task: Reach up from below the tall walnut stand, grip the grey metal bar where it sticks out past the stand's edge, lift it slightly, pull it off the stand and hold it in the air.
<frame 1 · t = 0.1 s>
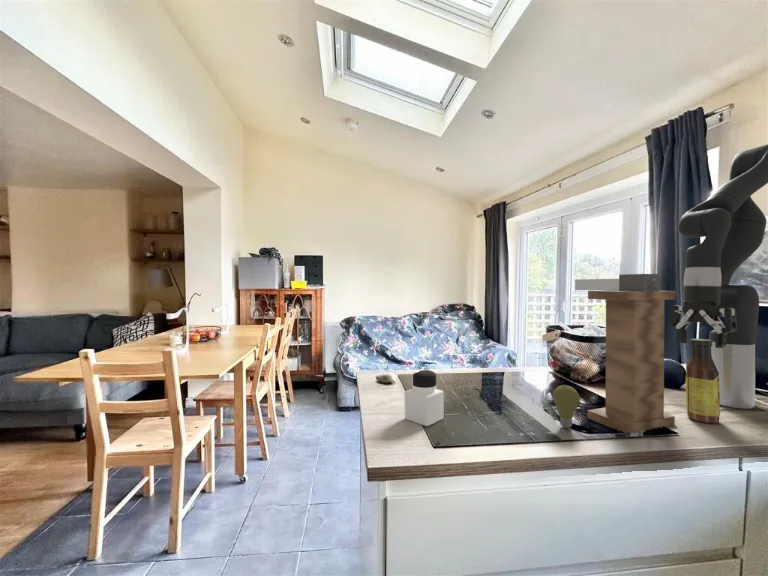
hand: (700, 345, 96), 17 cm above the worktop, tool pointing down, fingers open, 8 cm apart
medicine bottle: (424, 419, 90), on the worktop
sauce bottle: (702, 420, 89), on the worktop
light bulb: (565, 428, 84), on the worktop
stand: (629, 421, 88), on the worktop
grey metal bar: (611, 290, 92), point 32 cm above the worktop, touching stand
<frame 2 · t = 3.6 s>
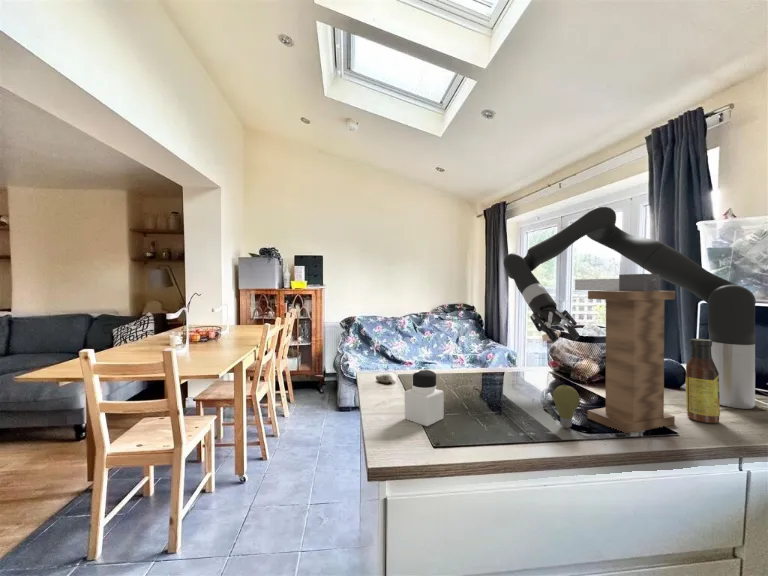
hand: (566, 339, 110), 17 cm above the worktop, tool tilted 45°, fingers open, 8 cm apart
nothing on the worktop moved.
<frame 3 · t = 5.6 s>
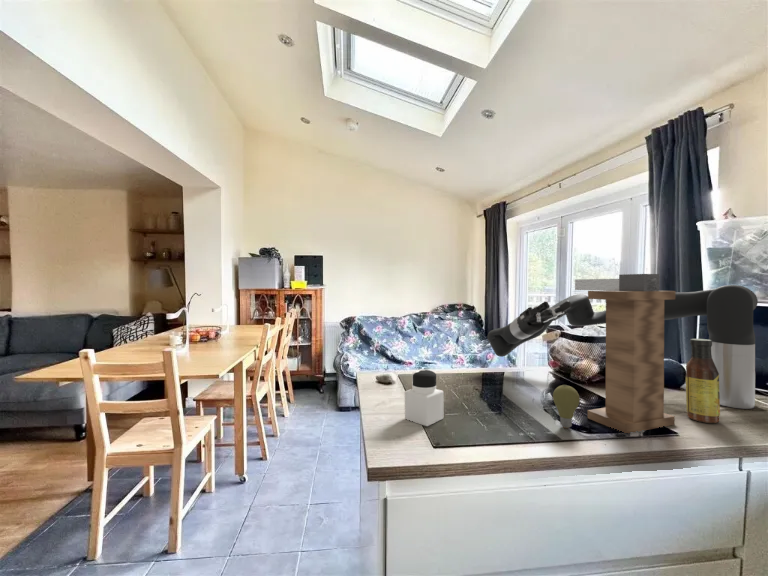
hand: (558, 303, 108), 28 cm above the worktop, tool pointing upward, fingers open, 8 cm apart
nothing on the worktop moved.
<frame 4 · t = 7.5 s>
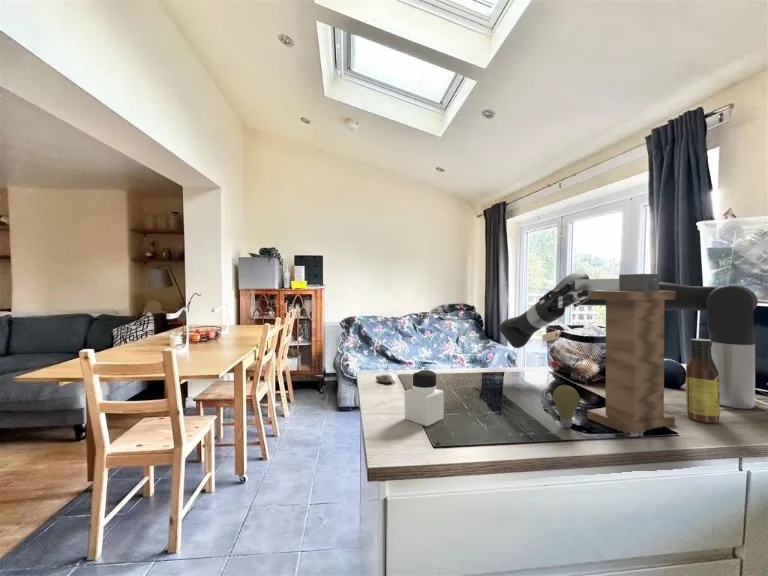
hand: (582, 286, 100), 33 cm above the worktop, tool pointing upward, fingers open, 8 cm apart
nothing on the worktop moved.
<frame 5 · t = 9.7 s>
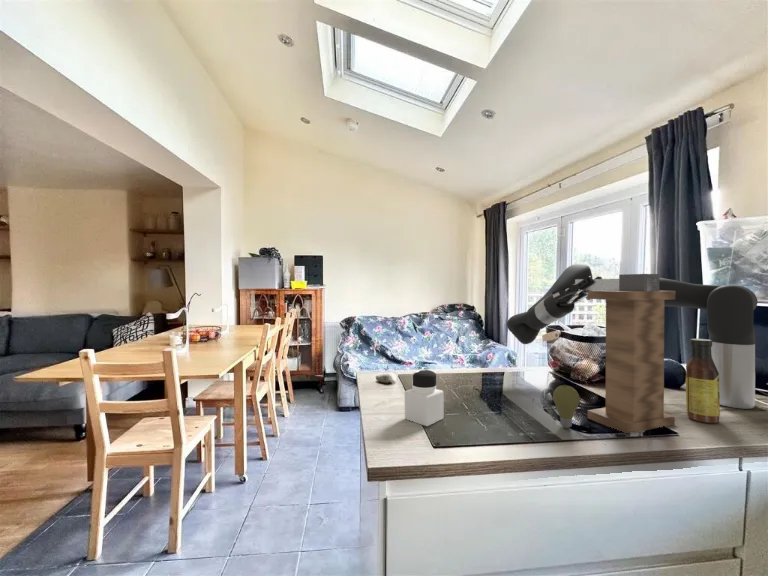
hand: (596, 279, 96), 35 cm above the worktop, tool pointing upward, fingers closed on grey metal bar, 3 cm apart
grey metal bar: (611, 290, 92), point 32 cm above the worktop, touching gripper, stand
everything else where it was.
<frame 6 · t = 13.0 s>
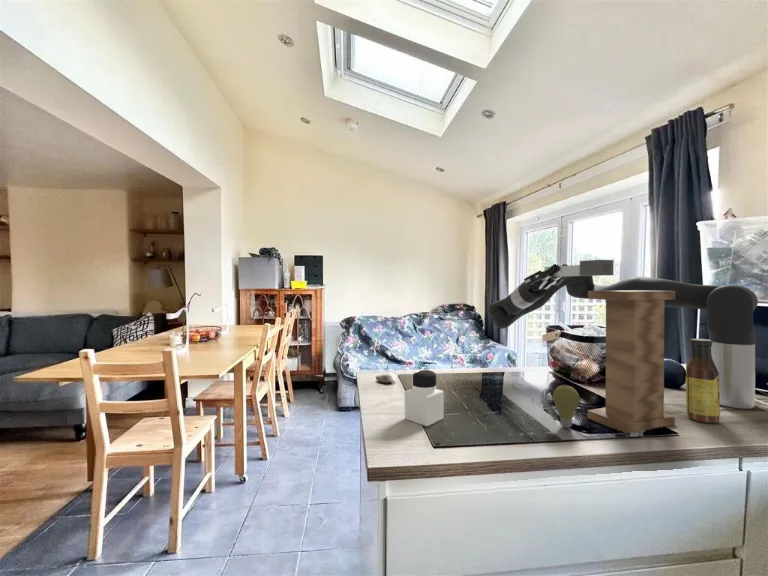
hand: (562, 266, 107), 39 cm above the worktop, tool pointing upward, fingers closed on grey metal bar, 3 cm apart
grey metal bar: (574, 275, 103), point 36 cm above the worktop, touching gripper
everything else where it was.
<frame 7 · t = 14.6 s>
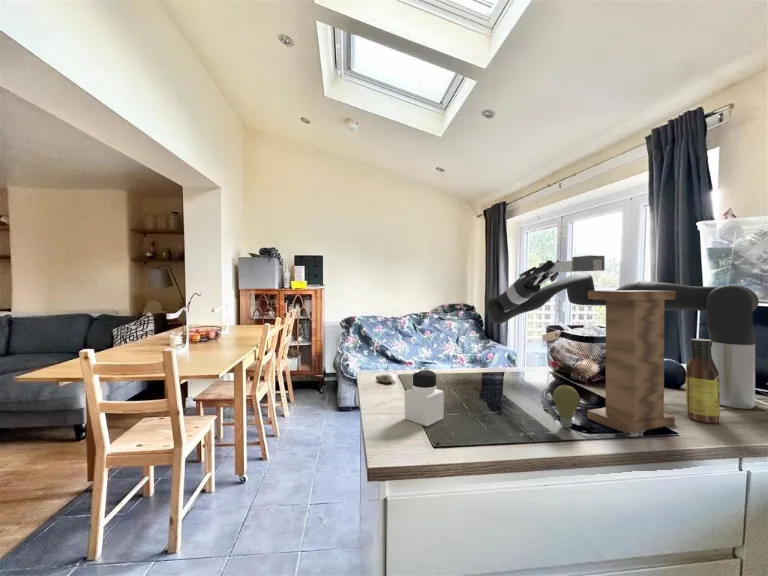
hand: (555, 262, 111), 40 cm above the worktop, tool pointing upward, fingers closed on grey metal bar, 3 cm apart
grey metal bar: (567, 271, 106), point 37 cm above the worktop, touching gripper
everything else where it was.
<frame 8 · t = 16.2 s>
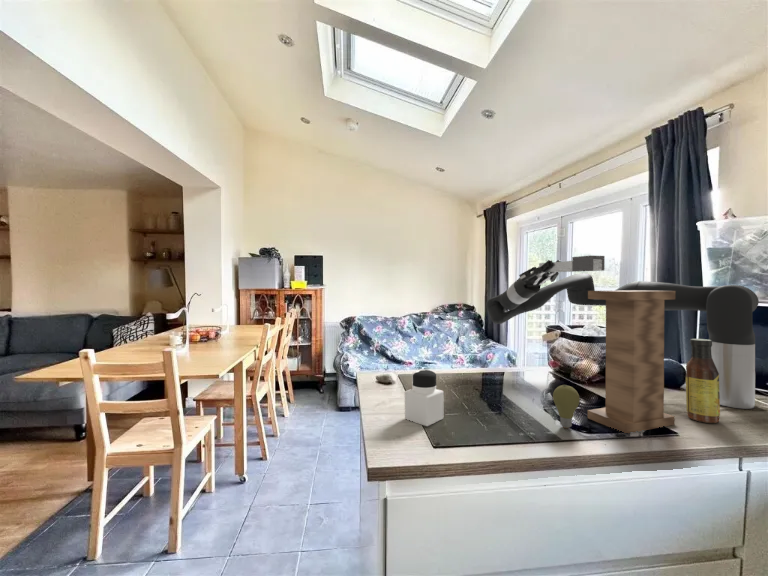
hand: (555, 262, 111), 40 cm above the worktop, tool pointing upward, fingers closed on grey metal bar, 3 cm apart
grey metal bar: (567, 271, 106), point 37 cm above the worktop, touching gripper
everything else where it was.
at the end: the gripper is holding grey metal bar; grey metal bar moved 16.0 cm from its start; grey metal bar touching gripper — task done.
